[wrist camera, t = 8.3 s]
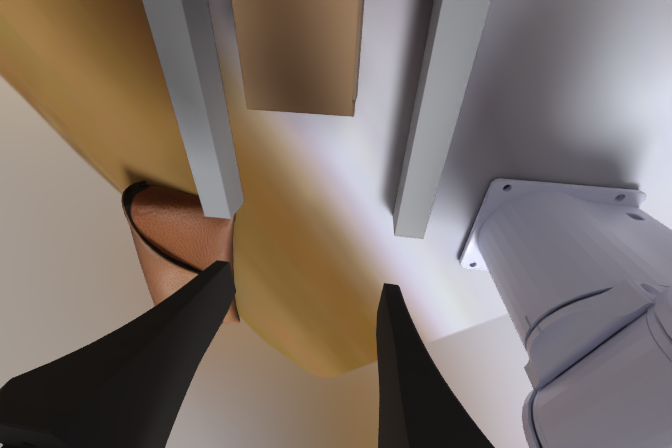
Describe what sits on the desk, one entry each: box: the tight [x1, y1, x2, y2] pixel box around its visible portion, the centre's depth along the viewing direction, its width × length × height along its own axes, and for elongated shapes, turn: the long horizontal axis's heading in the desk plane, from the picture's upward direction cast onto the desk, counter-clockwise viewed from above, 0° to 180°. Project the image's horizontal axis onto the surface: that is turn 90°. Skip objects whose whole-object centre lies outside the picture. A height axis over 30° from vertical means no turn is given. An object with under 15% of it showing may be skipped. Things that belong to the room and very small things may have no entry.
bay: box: [142, 0, 491, 239], centre depth 16 cm, size 16×16×3 cm
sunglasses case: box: [122, 181, 240, 325], centre depth 27 cm, size 18×7×7 cm, turn 170°
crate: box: [231, 0, 364, 117], centre depth 13 cm, size 5×5×5 cm
